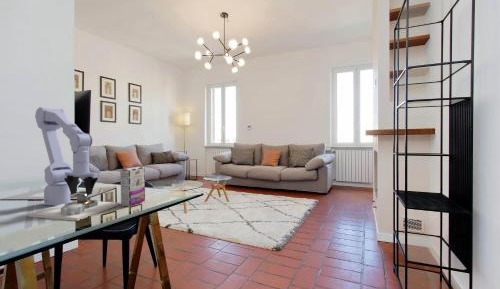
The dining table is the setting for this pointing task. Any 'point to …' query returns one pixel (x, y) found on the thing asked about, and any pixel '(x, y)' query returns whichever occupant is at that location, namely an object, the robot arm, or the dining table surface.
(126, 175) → the candy bar box
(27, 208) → the dining table surface
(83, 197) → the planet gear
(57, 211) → the carrier plate
